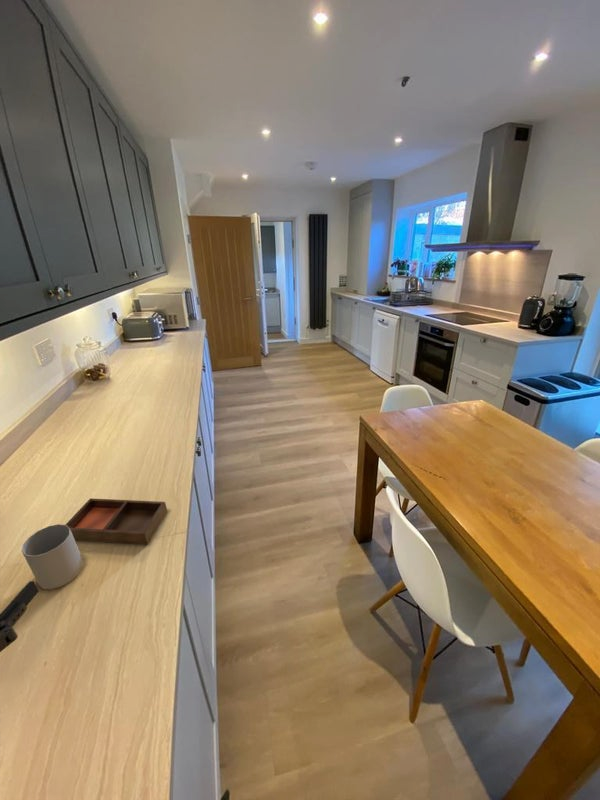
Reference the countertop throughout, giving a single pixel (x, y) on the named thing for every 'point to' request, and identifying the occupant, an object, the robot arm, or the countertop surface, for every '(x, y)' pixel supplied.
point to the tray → (117, 521)
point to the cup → (53, 556)
